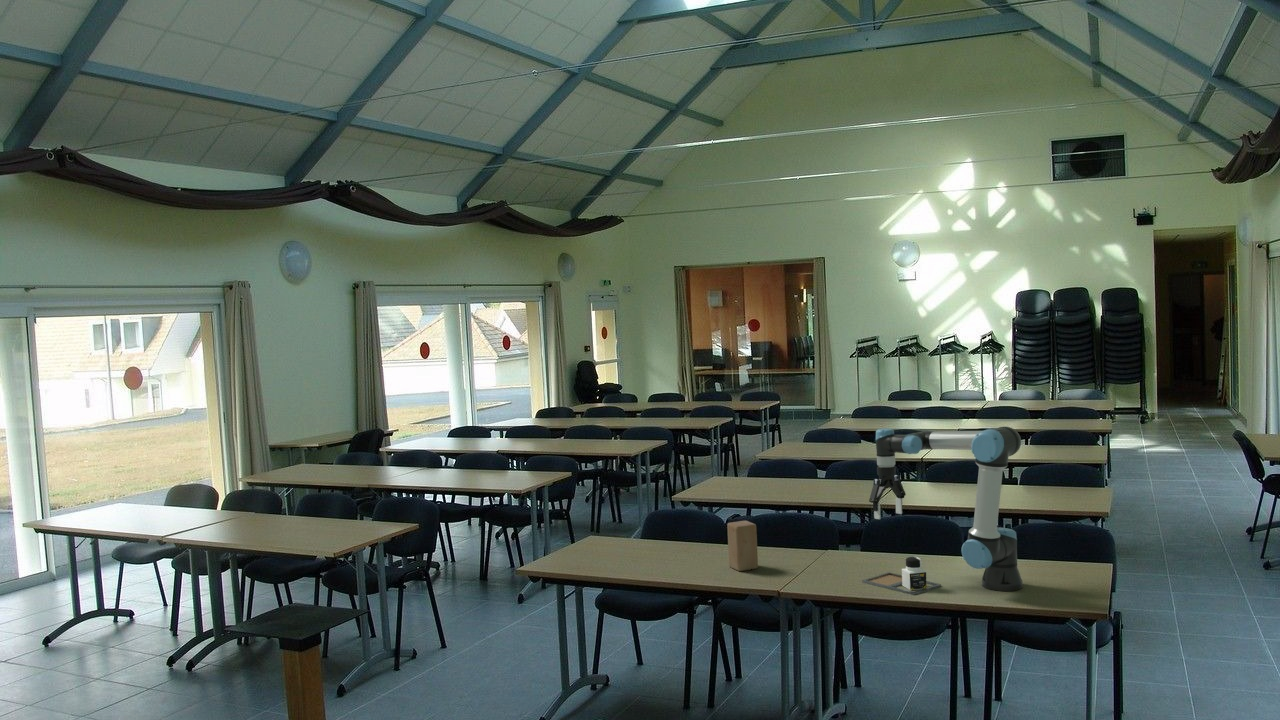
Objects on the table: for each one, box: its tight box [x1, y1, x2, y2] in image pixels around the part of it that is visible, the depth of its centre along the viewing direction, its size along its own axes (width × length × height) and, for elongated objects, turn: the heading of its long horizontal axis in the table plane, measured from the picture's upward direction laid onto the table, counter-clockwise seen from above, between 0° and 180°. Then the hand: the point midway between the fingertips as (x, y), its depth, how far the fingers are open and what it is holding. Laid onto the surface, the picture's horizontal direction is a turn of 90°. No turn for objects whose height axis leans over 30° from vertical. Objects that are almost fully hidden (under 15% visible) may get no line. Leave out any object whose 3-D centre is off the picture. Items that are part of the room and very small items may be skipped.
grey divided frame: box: [861, 571, 942, 596], centre depth 395 cm, size 26×17×1 cm, turn 37°
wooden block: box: [727, 520, 759, 572], centre depth 430 cm, size 10×10×20 cm
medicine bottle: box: [901, 556, 928, 591], centre depth 389 cm, size 7×7×12 cm
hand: (888, 516), depth 408 cm, fingers open, 13 cm apart
